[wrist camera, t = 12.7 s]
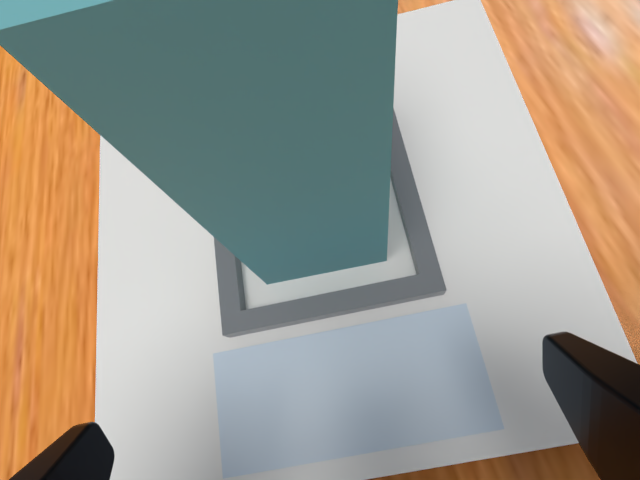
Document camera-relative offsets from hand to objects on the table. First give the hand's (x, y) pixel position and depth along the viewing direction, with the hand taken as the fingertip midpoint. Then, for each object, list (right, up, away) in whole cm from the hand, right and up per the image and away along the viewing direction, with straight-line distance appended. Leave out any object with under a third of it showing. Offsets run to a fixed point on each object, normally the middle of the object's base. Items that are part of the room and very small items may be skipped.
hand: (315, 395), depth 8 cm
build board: (0, +4, +10) cm, 11 cm away
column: (0, +4, +10) cm, 10 cm away
